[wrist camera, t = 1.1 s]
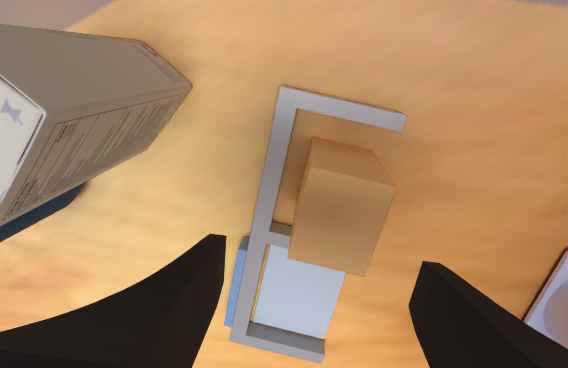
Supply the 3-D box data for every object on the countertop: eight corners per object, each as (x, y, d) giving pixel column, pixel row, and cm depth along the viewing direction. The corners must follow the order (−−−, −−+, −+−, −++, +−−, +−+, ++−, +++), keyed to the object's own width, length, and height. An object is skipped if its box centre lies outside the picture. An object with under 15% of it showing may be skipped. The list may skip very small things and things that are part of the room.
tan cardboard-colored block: (372, 150, 21) (396, 187, 15) (350, 217, 23) (364, 277, 16) (312, 136, 21) (310, 166, 15) (295, 204, 23) (287, 258, 16)
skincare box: (141, 38, 20) (-89, -3, 9) (197, 87, 21) (51, 108, 9) (93, 114, 22) (-145, 160, 11) (146, 156, 23) (-26, 243, 11)
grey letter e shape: (401, 112, 20) (409, 116, 18) (321, 348, 27) (321, 367, 25) (273, 83, 20) (269, 84, 19) (226, 325, 27) (220, 342, 25)
